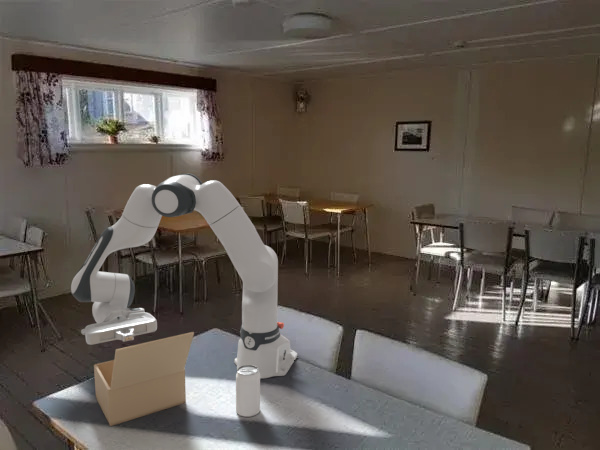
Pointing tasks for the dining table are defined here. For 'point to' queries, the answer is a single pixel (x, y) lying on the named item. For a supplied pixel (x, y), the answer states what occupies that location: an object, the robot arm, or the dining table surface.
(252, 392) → the can
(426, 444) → the dining table surface
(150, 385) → the carton
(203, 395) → the dining table surface
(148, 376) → the carton flap
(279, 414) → the dining table surface
